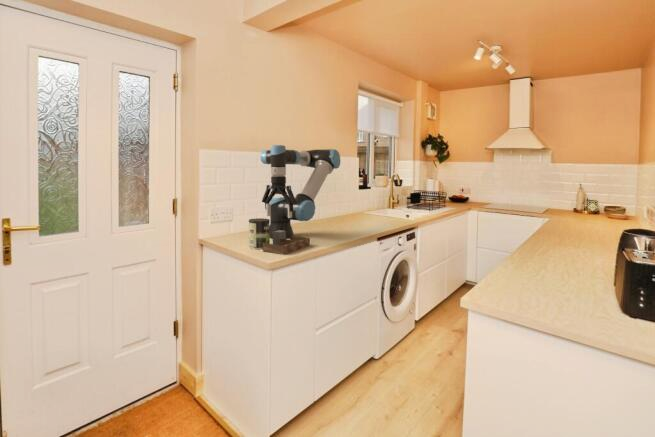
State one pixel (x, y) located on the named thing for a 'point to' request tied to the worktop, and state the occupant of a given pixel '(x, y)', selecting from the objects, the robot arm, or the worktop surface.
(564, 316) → the worktop surface
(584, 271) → the worktop surface
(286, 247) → the comb rack
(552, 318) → the worktop surface
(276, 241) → the grey block
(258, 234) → the coffee can
